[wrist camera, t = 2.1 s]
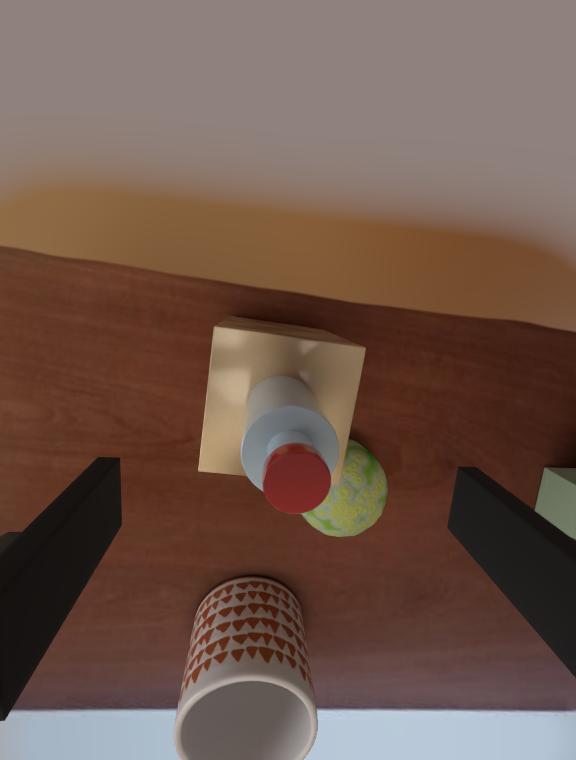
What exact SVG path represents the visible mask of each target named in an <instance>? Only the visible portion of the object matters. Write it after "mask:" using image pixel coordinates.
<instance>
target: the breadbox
mask: <svg viewBox="0 0 576 760" xmlns="http://www.w3.org/2000/svg"><path fill="white" fill-rule="evenodd" d="M534 511H536V512H537V513H538V514H540V515H541V516H542V517H544V518H545V519H547V520H548V521H549V522H551V523H552V524H553V525H555V526H556V527H557V528H559V529H560V530H561V531H563V532H564V533H565V534H567V535H568V536H570V537H572V538H574V539H575V540H576V468H550V467H545V468H544V472H543V476H542V480H541V485H540V489H539V493H538V497H537V502H536V506H535V510H534Z"/></svg>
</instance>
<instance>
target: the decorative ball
mask: <svg viewBox="0 0 576 760" xmlns="http://www.w3.org/2000/svg"><path fill="white" fill-rule="evenodd" d="M387 492H388V487H387V479H386V477H385V473H384V471H383V469H382V467H381V465H380V463H379V462H378V461H377V459H376V458H375V457H374V456H373V455H372V453H370V452H369V451H368V450H367V449H366V448H365V447H363V446H362V445H360V444H359V443H357V442H356V441H354V440H350V439H348V444H347V449H346V454H345V459H344V465H343V470H342V475H341V480H340V484H339V485H334V484H331V487H330V490H329V493H328V495H327V497H326V498H325V500H324V501H323V502H322V503H321V504H320V505H319V506H318V507H316V508H315V509H313V510H311V511H309V512H306V513H301V514H302V516H303V517H304V518H305V519H306V521H307V522H308V523H309V524H311V525H312V526H313V527H314V528H316V529H317V530H319V531H321V532H323V533H324V534H326V535H330V536H337V537H343V536H354V535H358V534H360V533H361V532H363V531H364V530H365V529H367V528H369V527H371V526H372V525H373V524H374V523H375V522H376V521H377V520H378V518H379V517H380V516H381V514H382V511H383V507H384V505H385V501H386V496H387Z"/></svg>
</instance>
